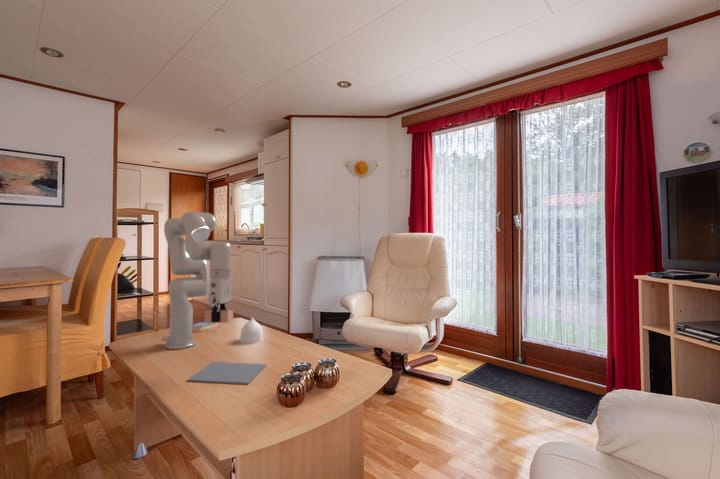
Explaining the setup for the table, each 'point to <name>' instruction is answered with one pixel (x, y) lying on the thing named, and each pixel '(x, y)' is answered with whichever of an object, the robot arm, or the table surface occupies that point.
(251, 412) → the table surface
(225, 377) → the mat
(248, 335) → the white rounded dome
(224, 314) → the pinkish tan grooved block
